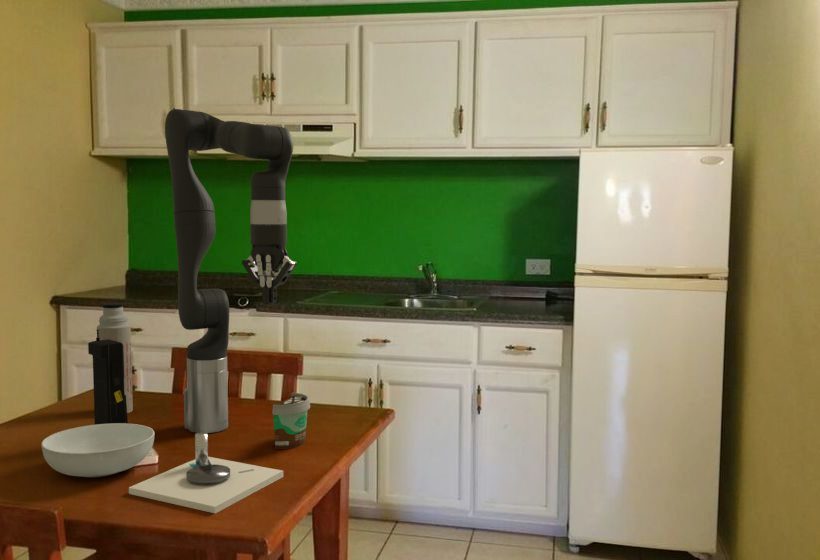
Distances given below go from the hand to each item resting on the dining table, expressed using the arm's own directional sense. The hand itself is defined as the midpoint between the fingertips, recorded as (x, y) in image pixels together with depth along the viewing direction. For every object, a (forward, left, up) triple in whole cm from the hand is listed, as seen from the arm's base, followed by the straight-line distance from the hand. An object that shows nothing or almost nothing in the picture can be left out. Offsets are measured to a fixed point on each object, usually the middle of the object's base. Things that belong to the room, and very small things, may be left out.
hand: (269, 304), depth 158 cm
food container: (+1, +8, -32) cm, 33 cm away
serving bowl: (-24, -24, -32) cm, 47 cm away
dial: (-1, -19, -30) cm, 36 cm away
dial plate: (+1, -21, -32) cm, 38 cm away
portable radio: (-36, -10, -32) cm, 49 cm away
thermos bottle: (-55, +9, -32) cm, 64 cm away
